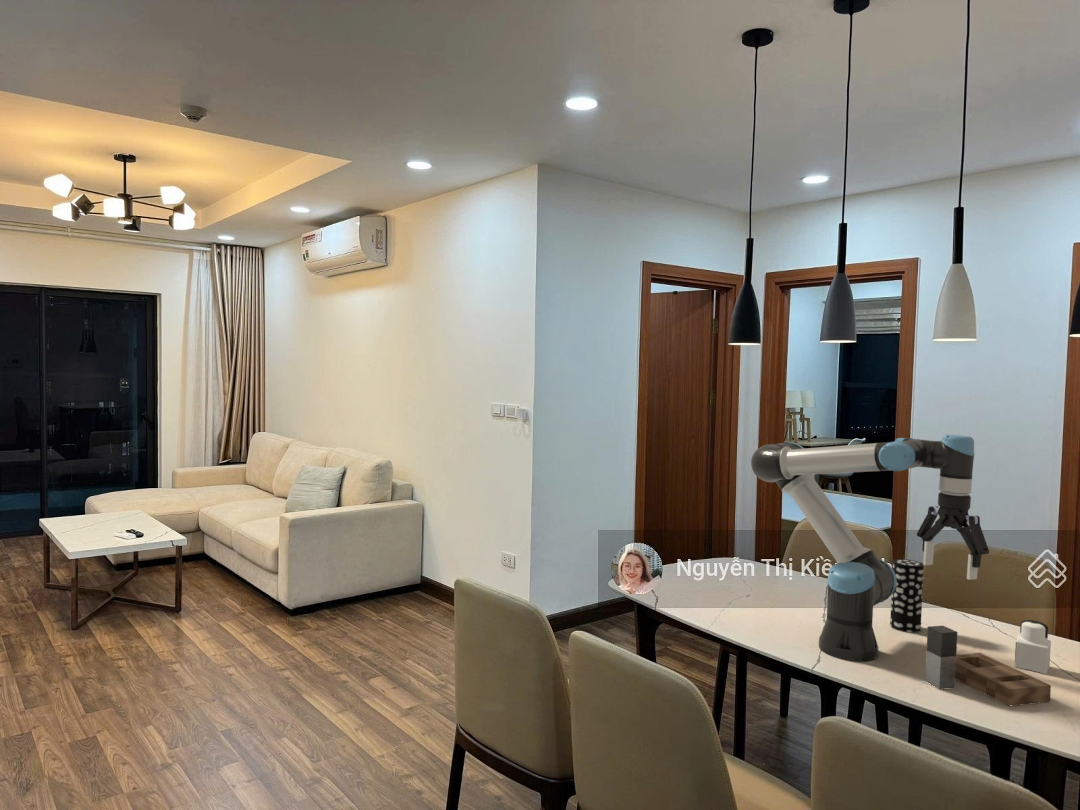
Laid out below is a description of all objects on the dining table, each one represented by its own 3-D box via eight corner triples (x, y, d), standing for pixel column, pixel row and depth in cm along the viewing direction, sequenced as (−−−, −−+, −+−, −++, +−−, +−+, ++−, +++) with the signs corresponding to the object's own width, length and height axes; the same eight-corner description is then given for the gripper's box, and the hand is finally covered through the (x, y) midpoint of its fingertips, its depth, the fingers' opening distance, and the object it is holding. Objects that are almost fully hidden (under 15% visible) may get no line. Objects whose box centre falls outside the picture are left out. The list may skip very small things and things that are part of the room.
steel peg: (939, 689, 175) (941, 633, 174) (925, 681, 179) (927, 626, 179) (954, 688, 176) (957, 631, 175) (940, 680, 180) (942, 625, 180)
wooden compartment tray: (1008, 706, 167) (1009, 689, 167) (941, 671, 186) (941, 656, 186) (1049, 701, 170) (1050, 685, 170) (979, 667, 189) (980, 652, 189)
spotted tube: (924, 633, 214) (927, 567, 213) (894, 631, 216) (897, 565, 215) (915, 624, 222) (918, 560, 221) (886, 621, 224) (889, 558, 223)
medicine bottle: (1017, 659, 196) (1019, 615, 195) (1049, 666, 191) (1052, 622, 191) (1014, 667, 190) (1016, 622, 190) (1047, 674, 186) (1049, 629, 185)
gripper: (1009, 501, 181) (1002, 584, 182) (926, 484, 205) (921, 558, 206) (987, 502, 179) (980, 586, 180) (906, 485, 202) (901, 559, 203)
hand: (949, 571), depth 193 cm, fingers open, 13 cm apart
